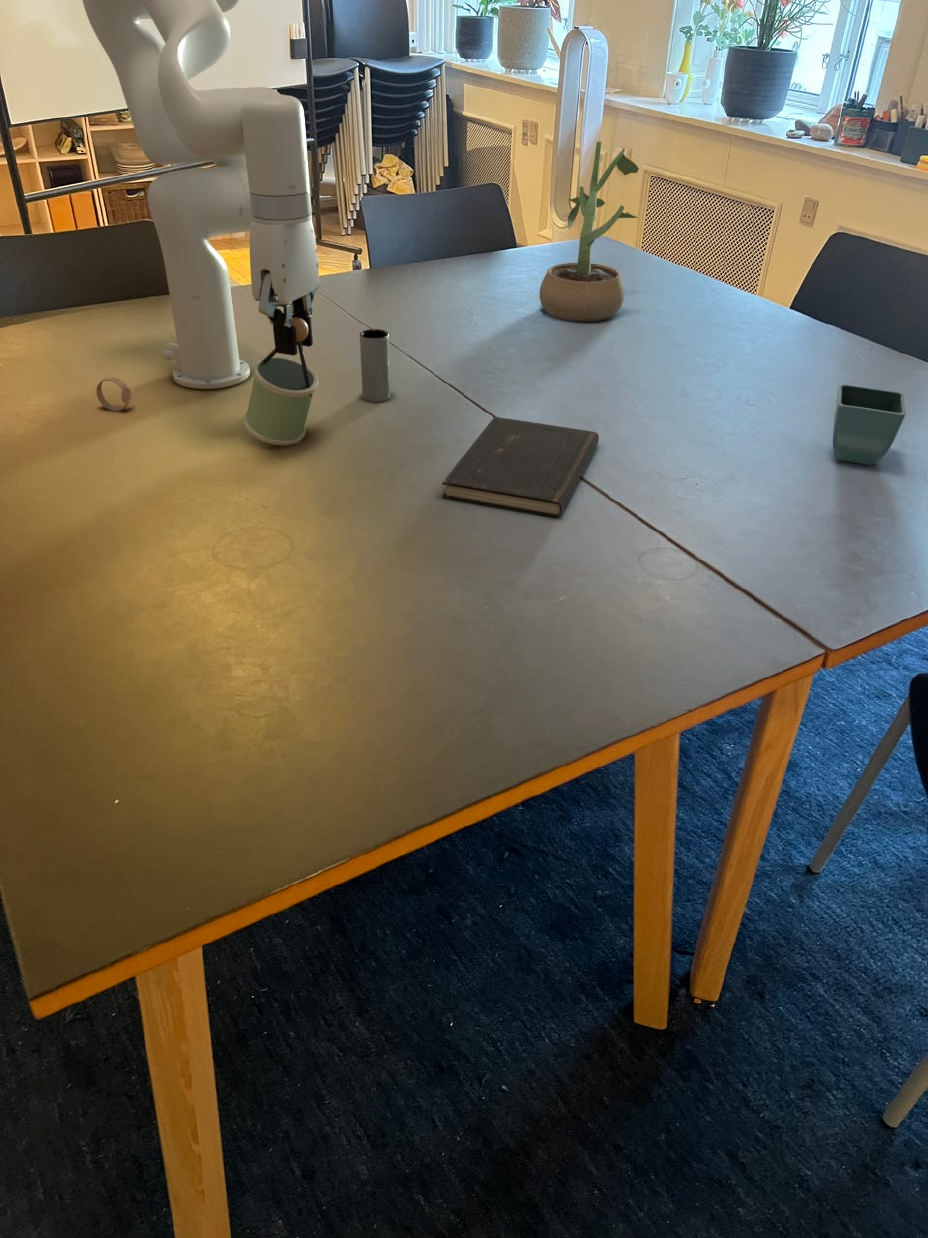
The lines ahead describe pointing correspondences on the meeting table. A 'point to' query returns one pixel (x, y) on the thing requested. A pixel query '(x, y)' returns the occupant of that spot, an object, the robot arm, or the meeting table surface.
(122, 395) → the brown ring
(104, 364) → the meeting table surface
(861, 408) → the flower pot
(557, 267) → the potted plant
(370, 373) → the grey hollow tube
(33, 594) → the meeting table surface
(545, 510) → the hardcover book
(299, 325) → the green hollow rimmed cylinder
